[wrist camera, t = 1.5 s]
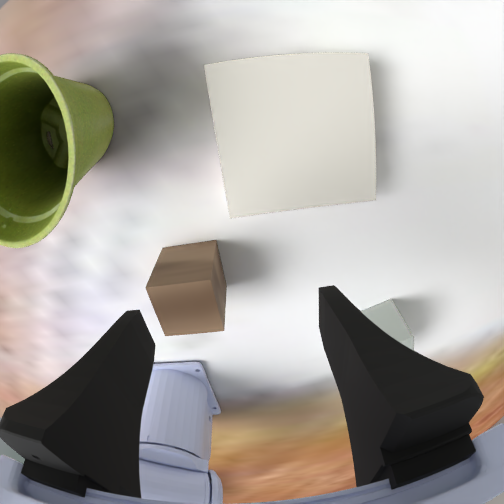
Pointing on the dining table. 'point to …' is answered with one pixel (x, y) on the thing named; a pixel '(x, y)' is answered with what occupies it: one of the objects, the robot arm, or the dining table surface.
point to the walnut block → (189, 289)
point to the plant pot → (44, 145)
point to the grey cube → (390, 322)
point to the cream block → (294, 130)
